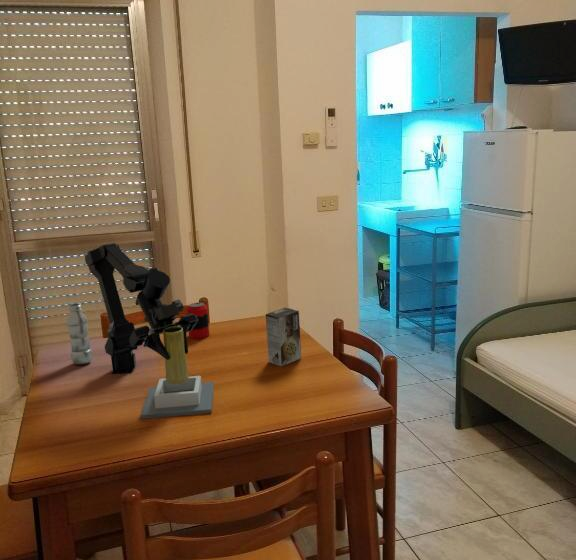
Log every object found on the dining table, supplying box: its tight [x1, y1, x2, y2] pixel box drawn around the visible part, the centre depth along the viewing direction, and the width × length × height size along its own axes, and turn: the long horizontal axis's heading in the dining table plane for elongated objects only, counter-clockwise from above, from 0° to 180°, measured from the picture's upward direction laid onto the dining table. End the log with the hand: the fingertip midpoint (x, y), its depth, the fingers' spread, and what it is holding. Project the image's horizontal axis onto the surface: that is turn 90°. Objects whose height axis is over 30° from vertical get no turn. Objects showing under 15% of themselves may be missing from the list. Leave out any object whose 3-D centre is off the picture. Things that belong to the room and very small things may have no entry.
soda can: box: [186, 302, 210, 340], centre depth 205 cm, size 8×8×12 cm
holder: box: [140, 375, 215, 420], centre depth 151 cm, size 18×18×4 cm
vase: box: [162, 327, 190, 384], centre depth 149 cm, size 6×6×14 cm
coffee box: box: [265, 307, 302, 367], centre depth 175 cm, size 9×6×16 cm
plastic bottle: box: [65, 303, 94, 365], centre depth 181 cm, size 6×7×20 cm
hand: (177, 356), depth 148 cm, fingers closed on vase, 5 cm apart
